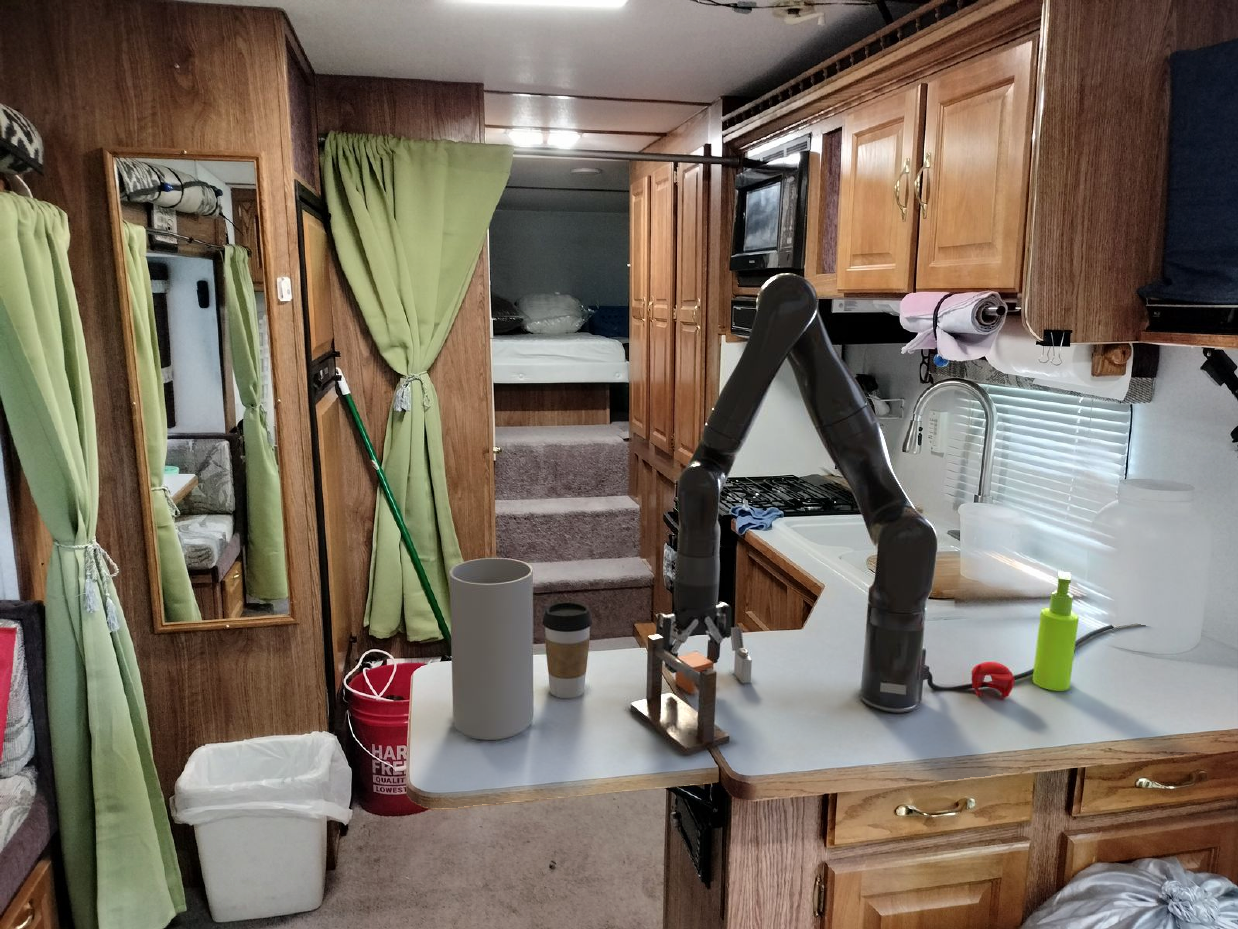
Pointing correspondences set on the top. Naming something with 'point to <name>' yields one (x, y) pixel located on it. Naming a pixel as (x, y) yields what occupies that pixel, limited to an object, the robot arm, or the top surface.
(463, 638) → the cylinder vase
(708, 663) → the clip
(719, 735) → the handle stand
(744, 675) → the lighter
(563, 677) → the coffee cup
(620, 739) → the top surface
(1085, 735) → the top surface
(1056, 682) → the soap dispenser
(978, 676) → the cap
